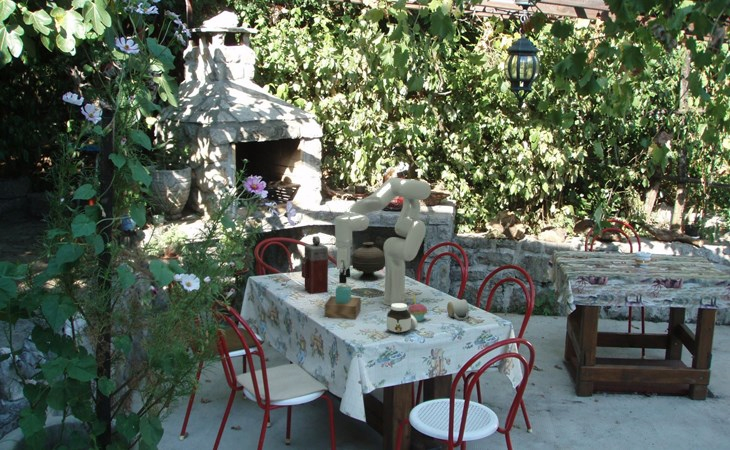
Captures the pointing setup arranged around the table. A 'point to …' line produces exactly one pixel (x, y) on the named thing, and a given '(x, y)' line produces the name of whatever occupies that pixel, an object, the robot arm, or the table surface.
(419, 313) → the cupcake
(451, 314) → the ceramic mug
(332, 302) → the walnut base
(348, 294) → the teal block
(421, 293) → the table surface
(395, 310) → the spread jar
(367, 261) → the pot
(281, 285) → the table surface
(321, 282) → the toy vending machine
